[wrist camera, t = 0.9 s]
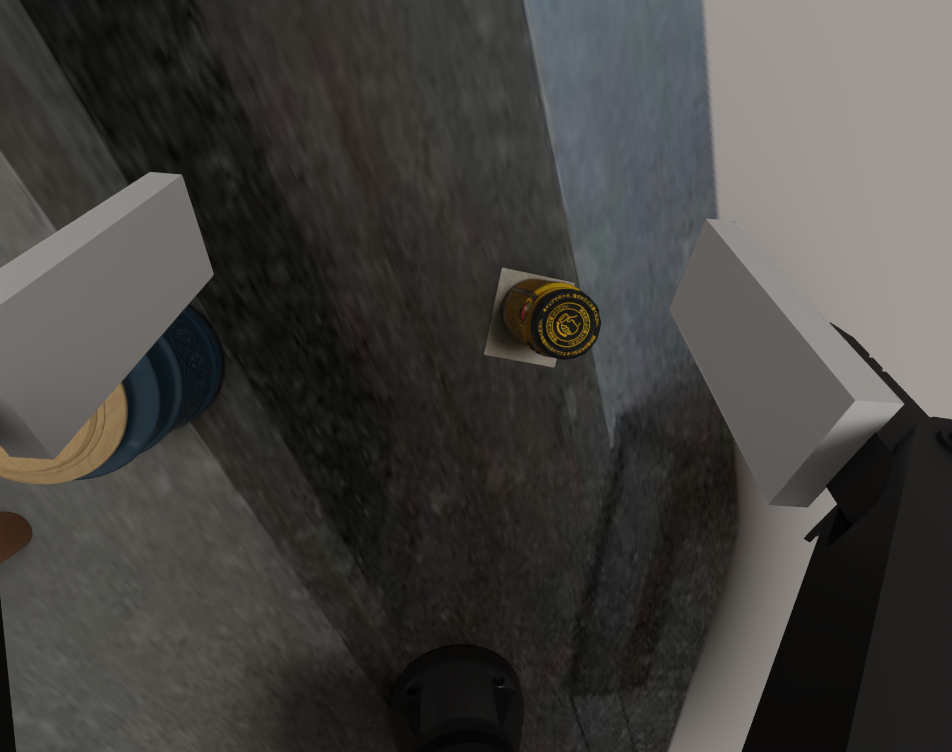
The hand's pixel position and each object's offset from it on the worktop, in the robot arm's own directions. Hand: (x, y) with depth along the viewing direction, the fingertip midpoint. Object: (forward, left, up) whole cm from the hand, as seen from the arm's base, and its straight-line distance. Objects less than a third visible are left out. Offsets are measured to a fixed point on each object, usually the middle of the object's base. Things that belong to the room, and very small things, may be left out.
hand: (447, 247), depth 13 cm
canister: (-8, +26, -33) cm, 43 cm away
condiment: (-6, -9, -33) cm, 35 cm away
